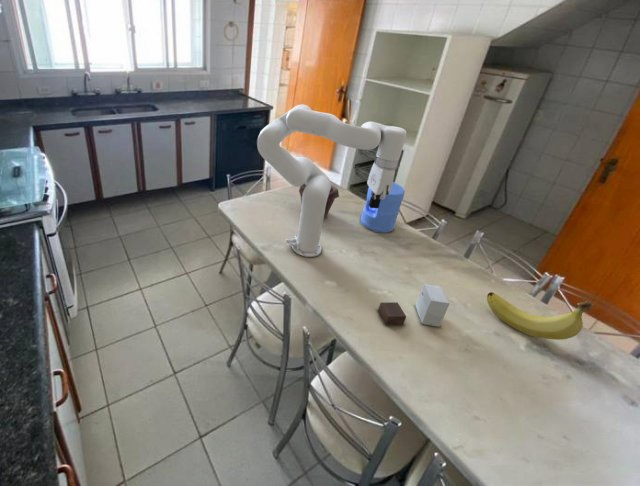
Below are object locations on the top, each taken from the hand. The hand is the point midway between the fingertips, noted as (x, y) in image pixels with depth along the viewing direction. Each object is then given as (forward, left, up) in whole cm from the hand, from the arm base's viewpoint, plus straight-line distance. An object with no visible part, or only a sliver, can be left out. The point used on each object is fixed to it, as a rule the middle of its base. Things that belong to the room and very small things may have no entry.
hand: (373, 206), depth 123 cm
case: (-9, +38, -27) cm, 47 cm away
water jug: (+20, +29, -27) cm, 44 cm away
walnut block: (0, -28, -27) cm, 39 cm away
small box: (+13, -28, -27) cm, 41 cm away
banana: (+42, -33, -27) cm, 60 cm away
